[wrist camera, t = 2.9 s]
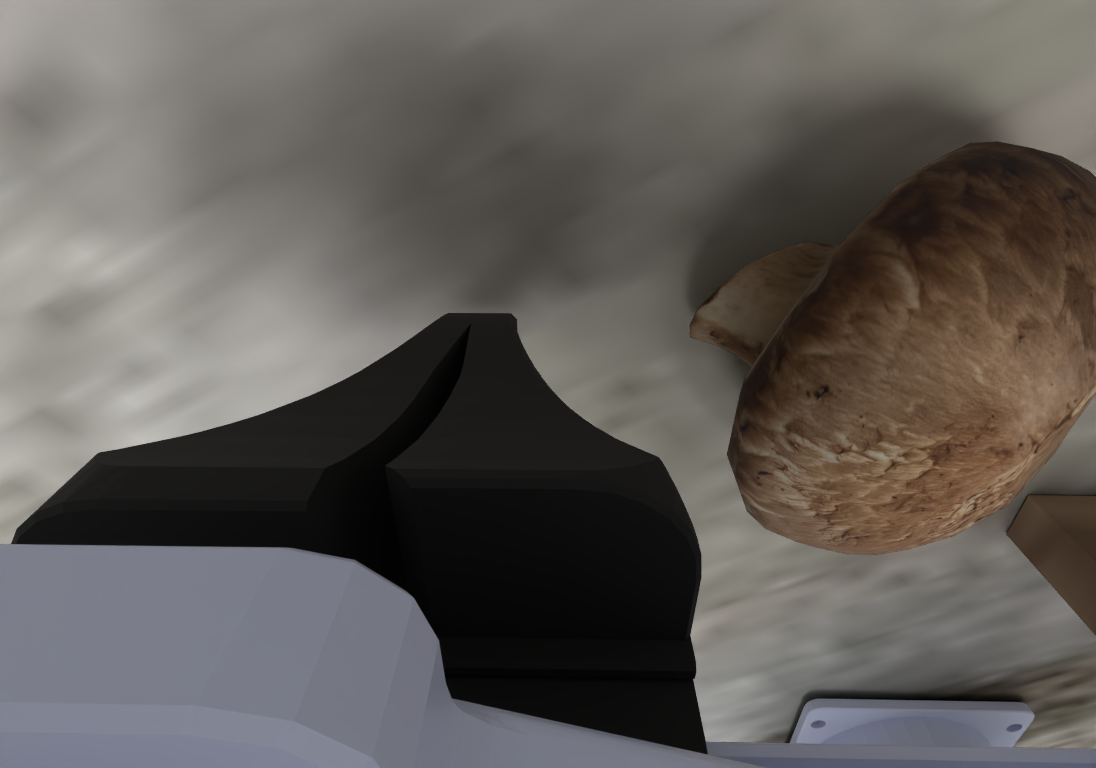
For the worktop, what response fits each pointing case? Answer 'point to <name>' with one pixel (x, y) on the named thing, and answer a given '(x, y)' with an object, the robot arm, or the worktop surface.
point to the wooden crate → (1062, 547)
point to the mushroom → (915, 353)
